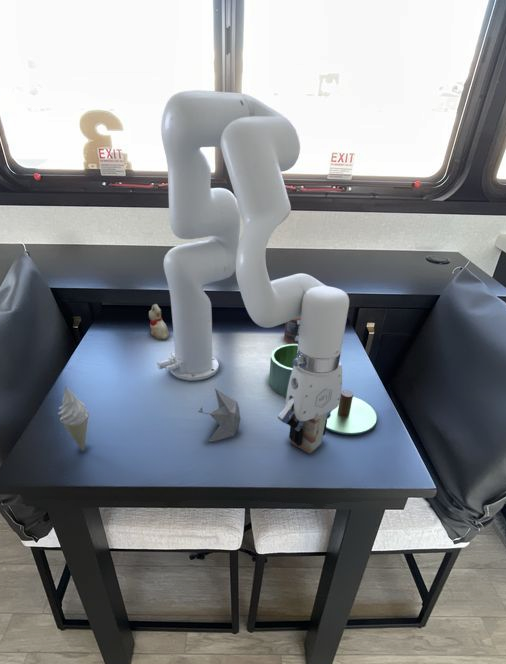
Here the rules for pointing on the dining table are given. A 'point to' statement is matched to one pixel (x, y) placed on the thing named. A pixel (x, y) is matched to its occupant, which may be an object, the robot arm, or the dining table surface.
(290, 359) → the tin
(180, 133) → the robot arm
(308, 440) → the small beige carton
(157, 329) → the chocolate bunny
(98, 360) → the dining table surface
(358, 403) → the lid
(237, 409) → the gray faceted winged figurine
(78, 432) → the ice cream cone
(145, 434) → the dining table surface
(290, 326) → the supplement bottle
